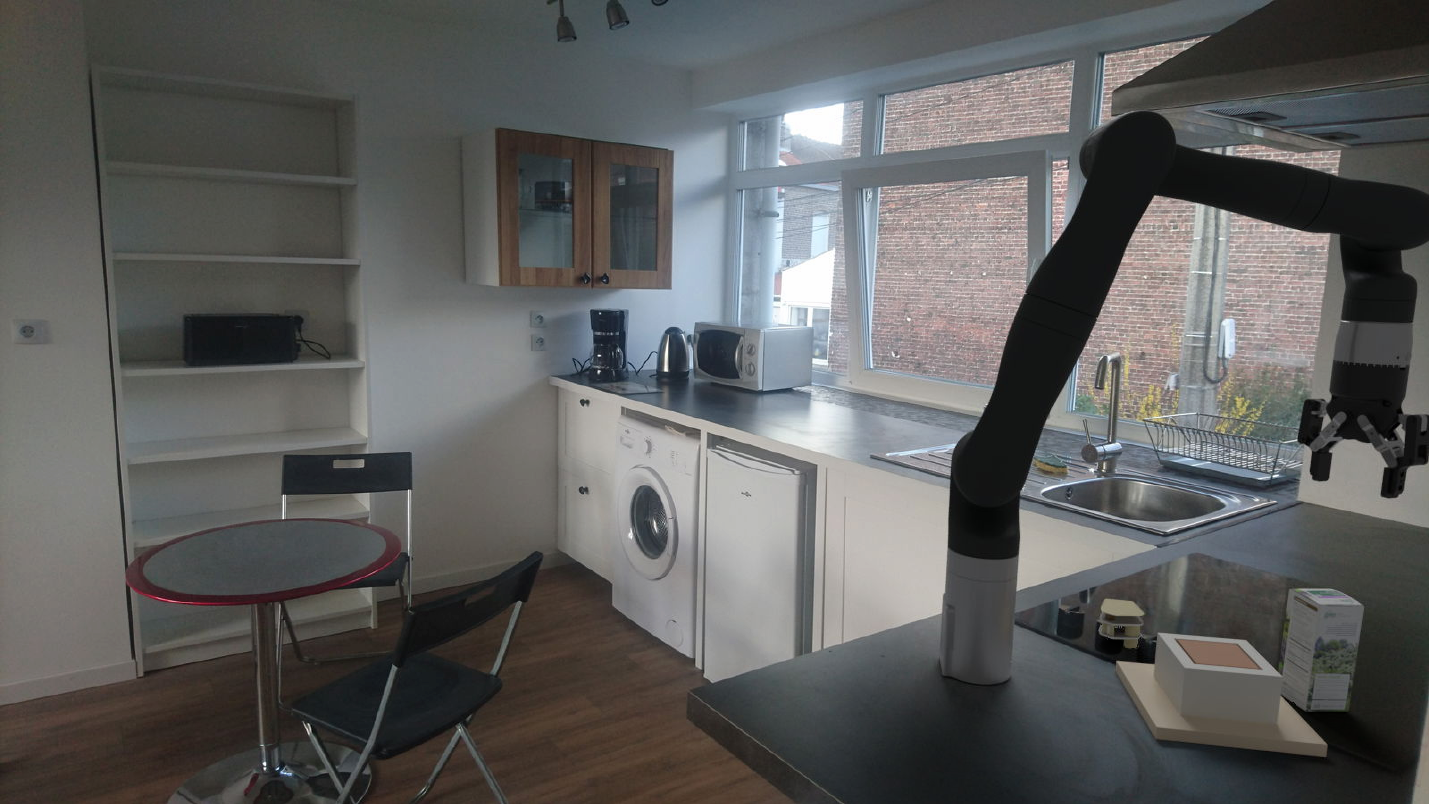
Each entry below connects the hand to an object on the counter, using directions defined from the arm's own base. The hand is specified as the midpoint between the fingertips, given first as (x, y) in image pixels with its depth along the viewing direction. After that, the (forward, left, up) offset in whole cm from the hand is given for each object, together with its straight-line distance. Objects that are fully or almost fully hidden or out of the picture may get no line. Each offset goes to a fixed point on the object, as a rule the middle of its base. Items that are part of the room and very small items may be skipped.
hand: (1353, 488), depth 108 cm
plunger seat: (-16, -6, -21) cm, 27 cm away
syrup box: (-2, -1, -28) cm, 28 cm away
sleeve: (-16, -6, -28) cm, 33 cm away
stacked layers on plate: (-22, +14, -29) cm, 39 cm away
